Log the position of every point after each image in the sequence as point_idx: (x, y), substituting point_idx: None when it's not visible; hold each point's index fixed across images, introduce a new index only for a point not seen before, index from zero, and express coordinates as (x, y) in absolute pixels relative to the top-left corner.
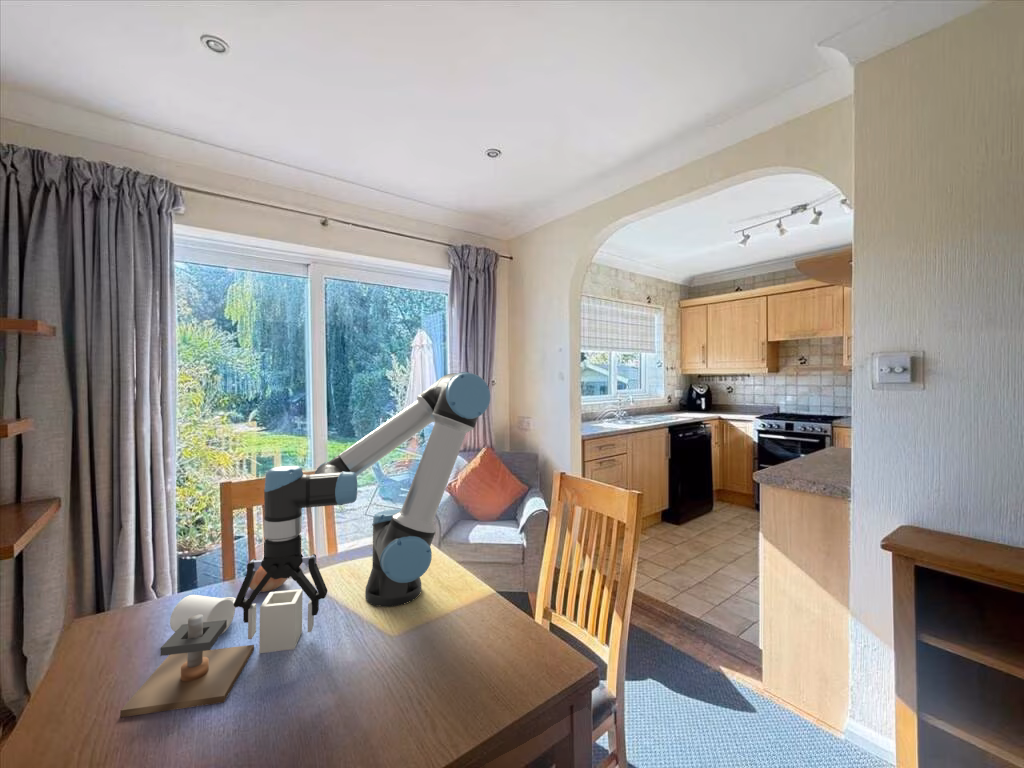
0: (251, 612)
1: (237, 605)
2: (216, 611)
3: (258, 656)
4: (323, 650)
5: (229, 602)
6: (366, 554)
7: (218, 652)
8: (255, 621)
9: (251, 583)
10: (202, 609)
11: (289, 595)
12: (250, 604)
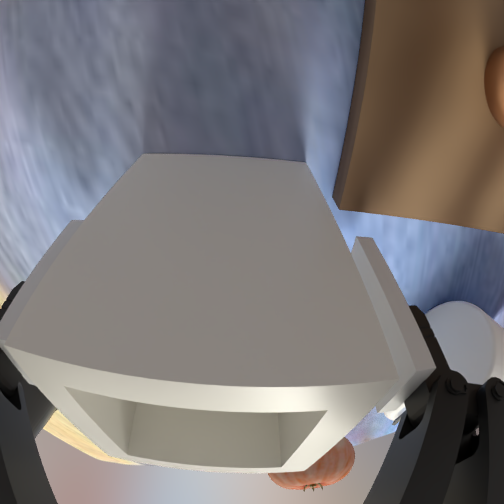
0: (412, 350)
1: (494, 386)
2: (471, 373)
3: (306, 138)
4: (29, 125)
5: None
6: None
7: (459, 200)
8: None
9: (345, 447)
10: (502, 374)
11: (176, 441)
12: (435, 402)
